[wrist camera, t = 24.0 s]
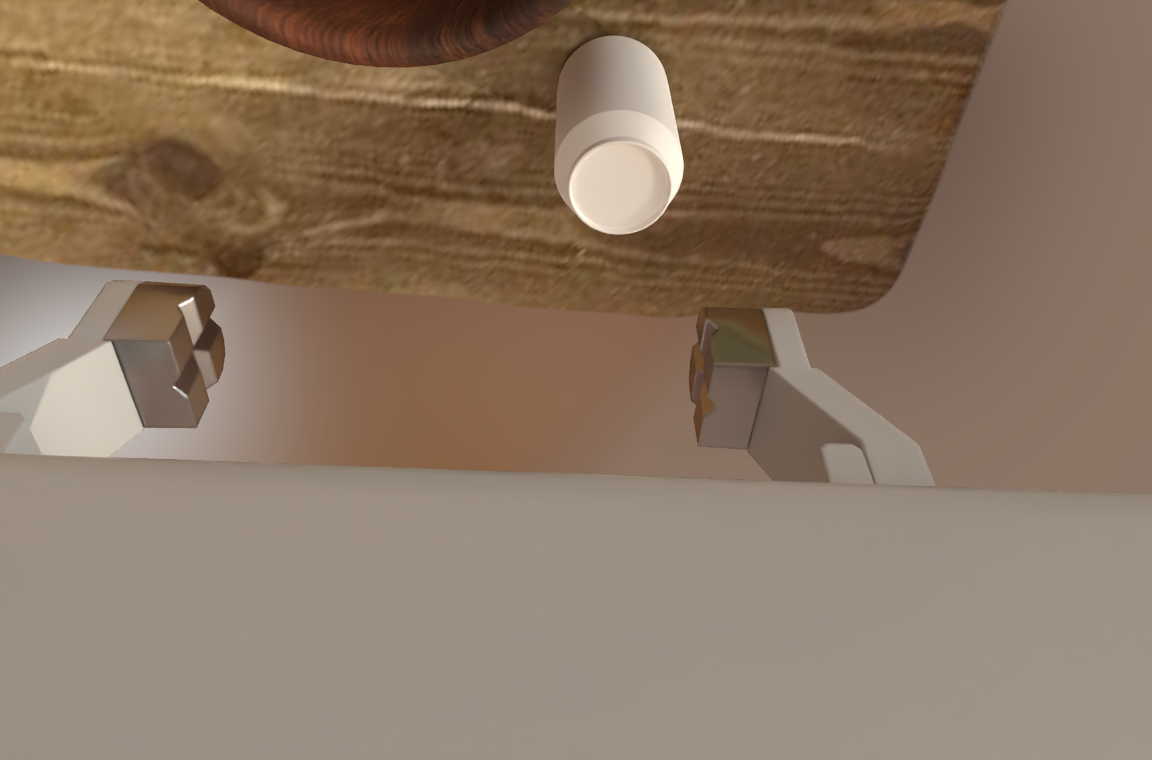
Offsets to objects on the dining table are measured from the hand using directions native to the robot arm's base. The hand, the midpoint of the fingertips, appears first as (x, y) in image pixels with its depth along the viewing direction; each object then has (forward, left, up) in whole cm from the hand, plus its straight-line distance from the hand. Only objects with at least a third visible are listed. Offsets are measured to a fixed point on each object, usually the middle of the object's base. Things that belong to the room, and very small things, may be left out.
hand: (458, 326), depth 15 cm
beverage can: (+12, -1, -37) cm, 39 cm away
